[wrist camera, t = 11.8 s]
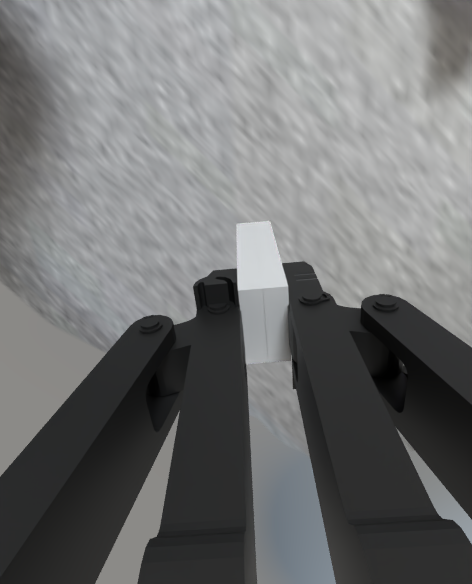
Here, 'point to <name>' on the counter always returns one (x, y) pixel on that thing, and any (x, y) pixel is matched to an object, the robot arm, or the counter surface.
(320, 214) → the counter surface
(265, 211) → the counter surface
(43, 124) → the counter surface
